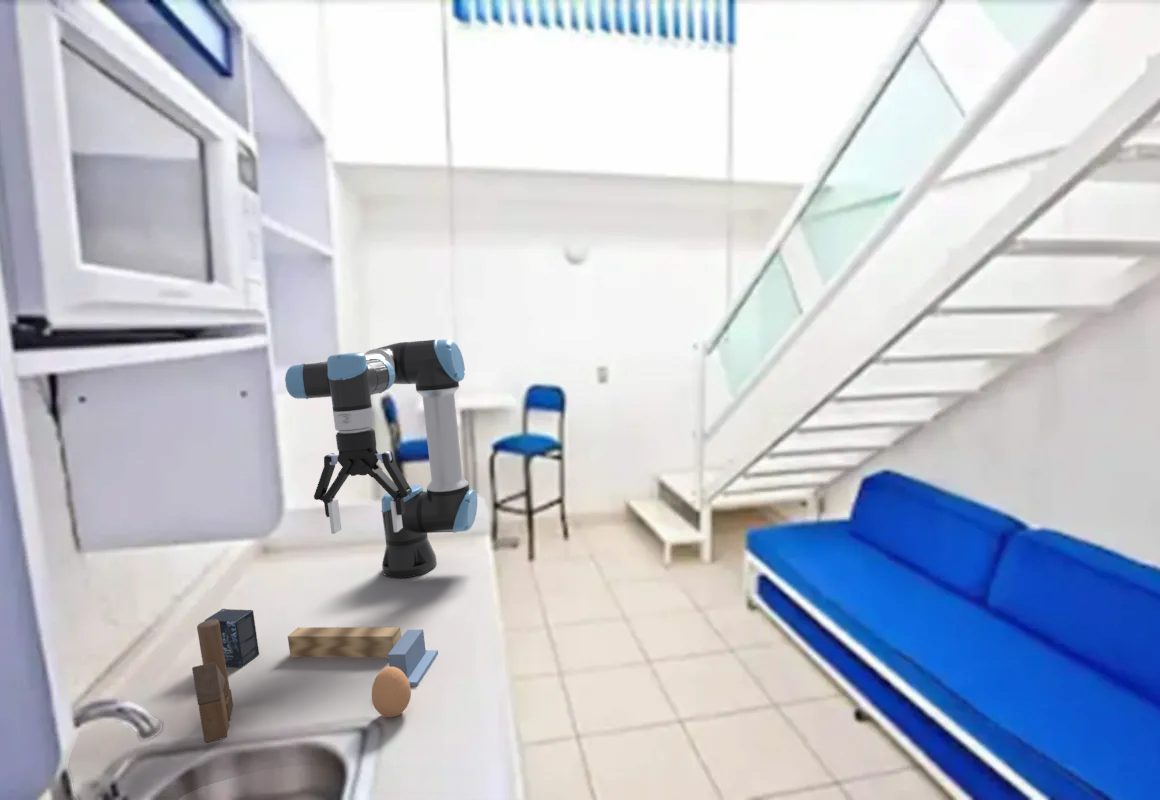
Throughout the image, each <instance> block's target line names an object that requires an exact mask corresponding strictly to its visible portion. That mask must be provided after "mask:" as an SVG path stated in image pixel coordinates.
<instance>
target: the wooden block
mask: <svg viewBox="0 0 1160 800" xmlns="http://www.w3.org/2000/svg"><path fill="white" fill-rule="evenodd" d="M196 629H197V635H198V641H199V643H198V644H199V647H200V655H201V661H202V662H201V663H202V664H200V665H197V666H193V667H192V669H191V670H192V676H193V682H194V689H195V694H196V702H197V705H198V711H199V717H200V723H201V729H202V734H203V735H202V736H203V741H204V743H205V742H207V743H210V742H209V741H211V742H213V741H212V740H214V741H217V739H218V740H220V738H222V739H225V738H227V737H228V733H229V730H230V723H229V721H231V718H232V714H233V713H232V712H233V707H234V702H233V695H232V689H231V688H230V685H229V684H230V683H229V682H230V681H229V676H228V671H227V666H226V663H225V656H224V650H223V644H222V637H221V631H220V624H219V621H218V620H217V619H211V620H207V621H205V620H204V621H201V622H199V624H198V625H197V626H196Z"/></svg>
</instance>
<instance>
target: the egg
mask: <svg viewBox="0 0 1160 800" xmlns="http://www.w3.org/2000/svg"><path fill="white" fill-rule="evenodd" d="M411 697H412V689H411V686H410V683H409V680H408V678H407V677H406V675H405V674H404V673H403V672H402V671H401V670H400V669H398V668H396V667H389V666H387V667H385V668H383V669H381V670H380V671H379V673H378V674H377V675H376V677H375V678H374V681H373V684H372V687H371V701H372V705H373V707H374V709H375V710H376V712H378V714H380V715H381V716H383V717H386V718H395V717H399V715H401V714H402V713H403V712H404V711H405V710H406V709H407V707H408V705H409V703H410V700H411Z"/></svg>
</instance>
